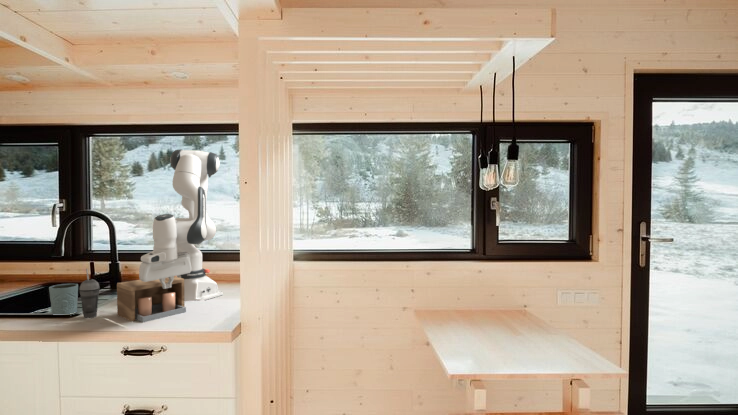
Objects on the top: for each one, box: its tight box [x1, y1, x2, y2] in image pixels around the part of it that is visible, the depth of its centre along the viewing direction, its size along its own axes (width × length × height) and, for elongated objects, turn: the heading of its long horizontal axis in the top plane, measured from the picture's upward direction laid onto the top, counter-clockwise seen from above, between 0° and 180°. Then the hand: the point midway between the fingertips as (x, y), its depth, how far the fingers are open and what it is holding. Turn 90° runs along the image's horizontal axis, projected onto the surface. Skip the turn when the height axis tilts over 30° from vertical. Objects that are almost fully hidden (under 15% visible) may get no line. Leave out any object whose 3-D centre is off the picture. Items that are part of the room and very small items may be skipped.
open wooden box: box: [116, 276, 186, 322], centre depth 181 cm, size 22×13×14 cm, turn 143°
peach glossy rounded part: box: [162, 292, 175, 312], centre depth 183 cm, size 5×5×8 cm
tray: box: [135, 303, 187, 323], centre depth 179 cm, size 18×15×3 cm
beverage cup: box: [78, 268, 101, 319], centre depth 176 cm, size 7×7×20 cm
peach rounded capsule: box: [138, 296, 152, 316], centre depth 175 cm, size 5×5×8 cm
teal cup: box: [48, 283, 79, 315], centre depth 180 cm, size 10×10×12 cm
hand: (167, 288), depth 175 cm, fingers closed
